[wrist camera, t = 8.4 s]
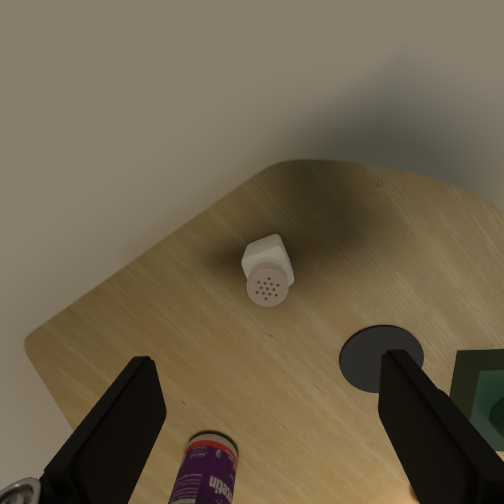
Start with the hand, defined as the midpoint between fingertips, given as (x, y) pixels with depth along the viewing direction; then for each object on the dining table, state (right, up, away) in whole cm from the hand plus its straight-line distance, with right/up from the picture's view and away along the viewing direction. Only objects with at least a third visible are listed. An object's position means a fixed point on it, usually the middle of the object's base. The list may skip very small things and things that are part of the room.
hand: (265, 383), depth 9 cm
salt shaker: (+1, +5, +18) cm, 18 cm away
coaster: (+16, -8, +20) cm, 27 cm away
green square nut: (+30, -12, +20) cm, 38 cm away
